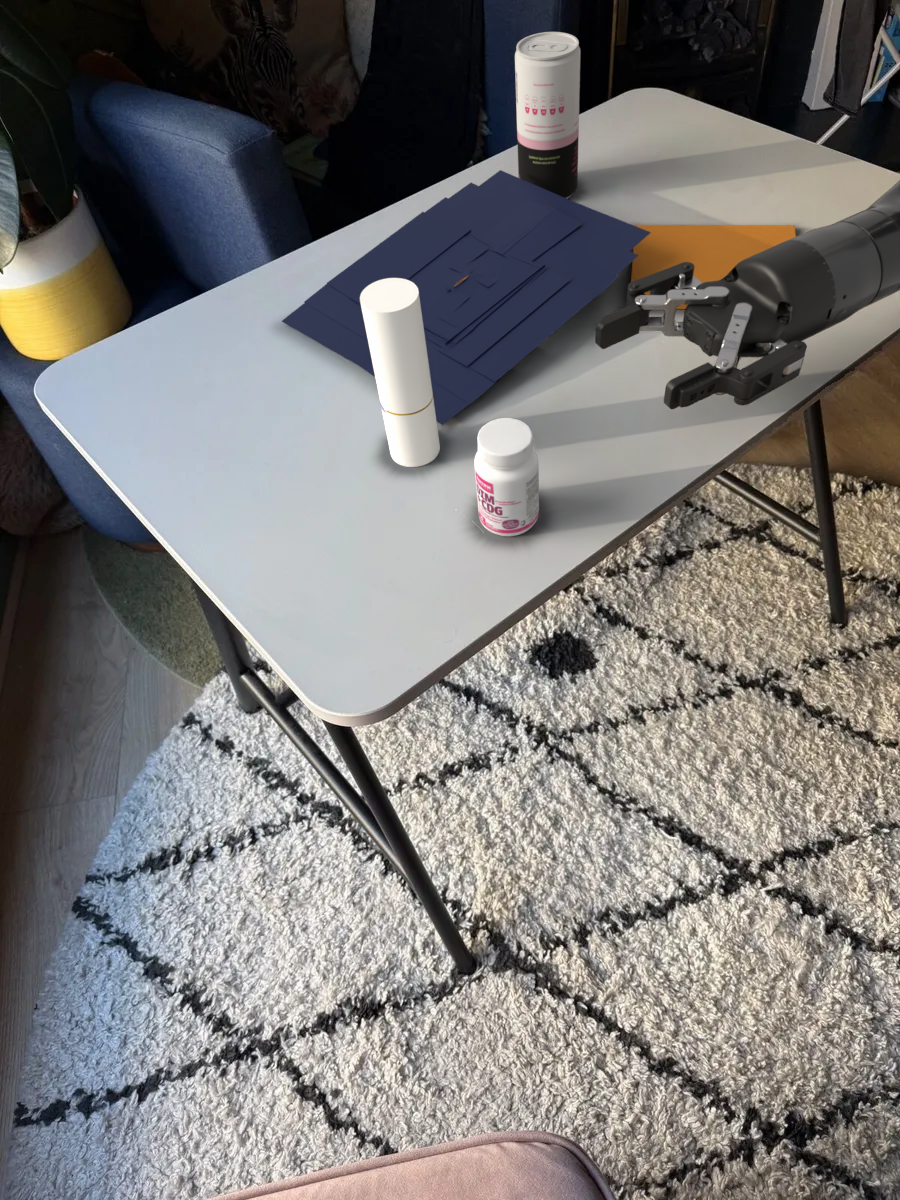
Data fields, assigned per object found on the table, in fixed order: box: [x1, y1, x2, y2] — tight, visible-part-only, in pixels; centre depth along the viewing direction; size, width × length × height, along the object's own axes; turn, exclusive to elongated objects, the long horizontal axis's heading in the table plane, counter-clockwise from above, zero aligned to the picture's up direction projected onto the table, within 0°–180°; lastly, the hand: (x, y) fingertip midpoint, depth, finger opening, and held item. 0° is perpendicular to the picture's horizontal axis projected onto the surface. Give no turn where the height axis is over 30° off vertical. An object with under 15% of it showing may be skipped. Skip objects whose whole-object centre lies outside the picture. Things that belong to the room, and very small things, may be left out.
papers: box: [281, 169, 651, 426], centre depth 86 cm, size 24×30×4 cm
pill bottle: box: [473, 417, 540, 537], centre depth 66 cm, size 5×5×8 cm
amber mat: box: [630, 224, 797, 310], centre depth 87 cm, size 16×14×1 cm
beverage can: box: [514, 31, 581, 199], centre depth 93 cm, size 7×7×15 cm
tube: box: [360, 278, 441, 468], centre depth 69 cm, size 4×4×15 cm
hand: (631, 365), depth 65 cm, fingers open, 8 cm apart
